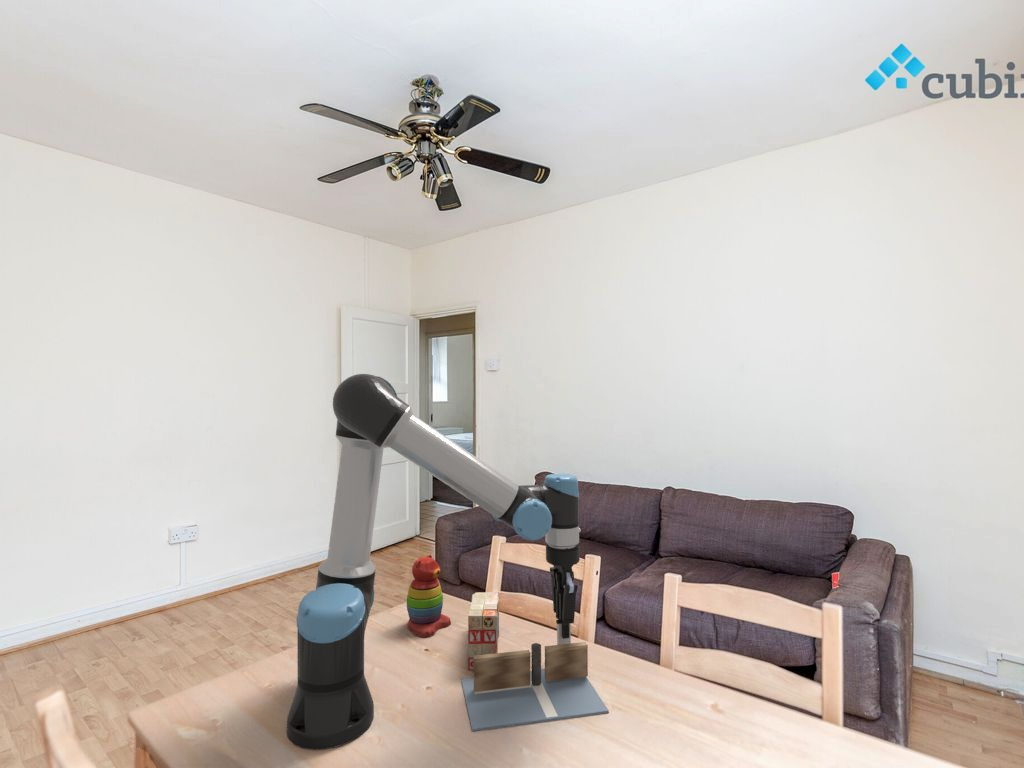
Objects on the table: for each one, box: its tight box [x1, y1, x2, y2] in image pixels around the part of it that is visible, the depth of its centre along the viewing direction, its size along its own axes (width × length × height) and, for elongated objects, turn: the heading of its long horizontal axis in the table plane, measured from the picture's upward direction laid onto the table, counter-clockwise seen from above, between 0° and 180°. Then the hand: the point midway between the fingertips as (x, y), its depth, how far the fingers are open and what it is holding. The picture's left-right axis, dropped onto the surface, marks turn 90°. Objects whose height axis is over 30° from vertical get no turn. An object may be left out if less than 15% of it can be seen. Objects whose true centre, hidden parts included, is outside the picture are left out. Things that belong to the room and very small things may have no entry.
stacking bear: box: [406, 554, 452, 638], centre depth 138 cm, size 11×10×18 cm
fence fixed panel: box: [473, 642, 542, 692], centre depth 108 cm, size 14×2×8 cm, turn 102°
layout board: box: [460, 668, 610, 732], centre depth 106 cm, size 26×17×1 cm, turn 102°
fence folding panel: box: [544, 641, 589, 681], centre depth 111 cm, size 9×1×7 cm, turn 102°
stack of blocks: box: [467, 591, 500, 672], centre depth 126 cm, size 21×6×12 cm, turn 0°
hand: (564, 650), depth 118 cm, fingers closed
